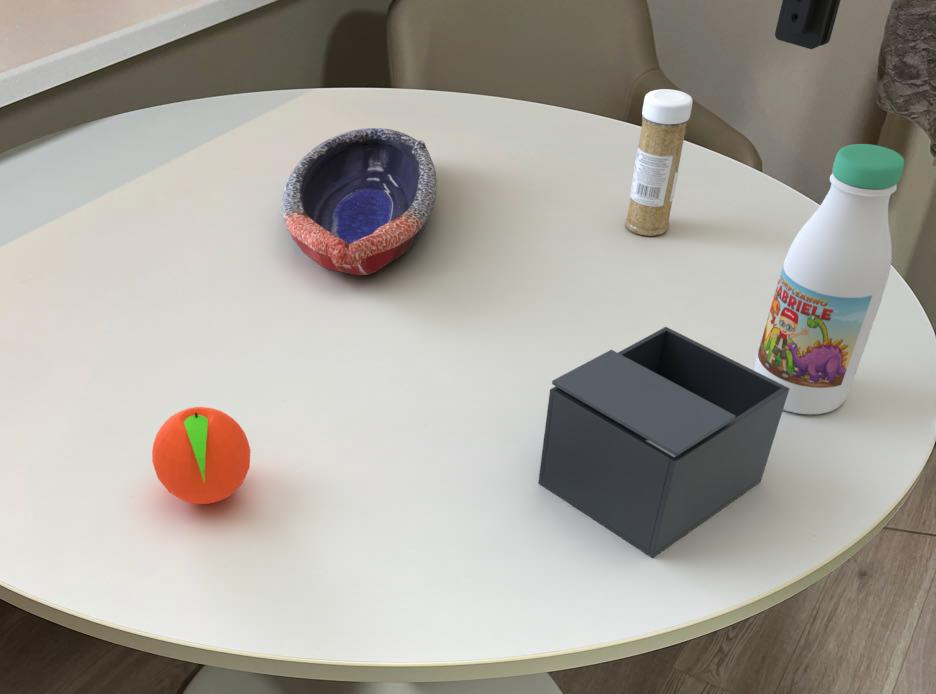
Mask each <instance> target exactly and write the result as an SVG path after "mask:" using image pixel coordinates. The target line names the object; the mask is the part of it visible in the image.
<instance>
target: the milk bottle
mask: <svg viewBox="0 0 936 694" xmlns="http://www.w3.org/2000/svg"><path fill="white" fill-rule="evenodd" d="M904 168H905V159H904V157H903V156H902V155H901V154H900V153H899V152H897V151H895V150H894V149H892V148H891V149H890V148H888V147H885V146H881V145H877V144H871V143H870V144H869V143H857V144H856V143H853V144H847V145H845V146H843V147H841V148H840V149H839V150H838V152H837V153H836V154H835V159H834V160H833V166H832V173H831V174H830V176H829V182H830V183H831V184H830V188H829V190H828V192H827V193H826V195H825V197H824V199H823V201H822V202H821V204H820V205H819V206H818V208H817V209H816V210H815V212H814V213H813V214H812V216H810V218H809V219H808V220H807V222H805V223H804V225H803V226H802V227H801V228H800V230H799V231H798V233H797V234H796V235H795V237H794V238H793V241H792V243H791V245H790V246H789V249H788V251H787V254H786V255H785V258H784V262H783V265H782V268H781V271H780V273H779V278H778V281H777V284H776V287H775V290H774V291H775V292H774V293H773V298H772V301H771V305H770V309H769V312H768V316H767V319H766V323H765V327H764V329H763V333H762V336H761V337H762V338H761V340H760V345H759V348H758V350H757V351H758V352H757V355H756V358H755V363H754V367H753V370H754V371H756V372H758V373H760V374H762V375H764V376H766V377H768V378H770V379H772V380H774V381H776V382H778V383H780V384H782V385H784V386H786V387H788V388H789V392H788V395H787V398H786V402H785V405H784V408H783V411H786V412H790V413H793V414H800V415H821V414H827V413H830V412H833V411H835V410H836V409H838V408H839V407H840V406H841V405H842V404H843V403H845V401H846V399H847V398H848V396H849V393H850V390H851V388H852V384H853V382H854V379H855V376H856V374H857V372H858V368H859V366H860V362H861V360H862V357H863V354H864V352H865V349H866V345H867V343H868V340H869V338H870V335H871V332H872V328H873V325H874V322H875V320H876V316H877V314H878V311H879V308H880V305H881V302H882V298H883V296H884V292H885V290H886V287H887V284H888V279H889V276H890V271H891V267H892V253H893V252H892V250H893V249H892V239H891V234H890V227H889V225H890V224H889V204H890V198H891V195H892V194H893V193H895V192H896V191H897V188H898V186H897V185H898V184H899V182H900V179H901V177H902V174H903V171H904Z"/></svg>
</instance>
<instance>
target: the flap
mask: <svg viewBox="0 0 936 694" xmlns="http://www.w3.org/2000/svg"><path fill="white" fill-rule="evenodd" d="M551 384H552V386H553V387H555V386H556V387H558V388H560V389H561V390H563V391H565V392H567V393H568V394H570V395H572V396H573V397H575V398H577V399H579V400H580V401H582V402H584V403H586V404H587V405H589V406H591V407H592V408H594V409H596V410H598V411H599V412H601V413H603V414H604V415H606V416H608V417H610V418H611V419H613V420H615V421H617V422H618V423H620V424H622V425H623V426H625V427H627V428H629V429H630V430H632V431H634V432H636V433H637V434H639V435H641V436H642V437H644V438H646V439H648V440H649V441H651V442H653V443H655V444H656V445H658V446H660V447H661V448H663V449H665V450H667V451H668V452H670V453H672V454H673V455H675V456H678V455H679V454H681V453H683V452H684V451H686V450H687V449H689V448H690V447H692V446H694V445H695V444H697V443H698V442H700V441H701V440H703V439H705V438H706V437H708V436H709V435H711V434H712V433H714V432H716V431H717V430H719V429H720V428H722V427H723V426H725V425H727V424H728V423H730V422H731V421H733V420H735V417H736V416H735V415H733V414H731V413H729V412H728V411H726V410H724V409H722V408H720V407H718V406H716V405H714V404H713V403H711V402H709V401H707V400H705V399H703V398H701V397H699V396H698V395H696V394H694V393H692V392H690V391H688V390H686V389H684V388H683V387H681V386H679V385H677V384H675V383H673V382H671V381H669V380H668V379H666V378H664V377H662V376H660V375H658V374H656V373H654V372H653V371H651V370H649V369H647V368H645V367H643V366H641V365H639V364H638V363H636V362H634V361H632V360H630V359H628V358H626V357H624V356H623V355H621V354H619V353H618V352H617V351H615V350H613V349H610V350H608V351H606V352H604V353H602V354H600V355H598V356H597V357H595V358H592V359H590V360H589V361H586V362H585V363H583V364H581V365H579V366H577V367H575V368H573V369H572V370H570V371H568V372H566V373H564V374H562V375H560V376H559V377H556V378H555V379H553V380H552V381H551Z"/></svg>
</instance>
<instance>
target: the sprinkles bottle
mask: <svg viewBox="0 0 936 694" xmlns="http://www.w3.org/2000/svg"><path fill="white" fill-rule="evenodd" d="M693 103H694V101H693V98H692V96H691V95H689V94H688V93H686V92H684V91H681V90H678V89H677V90H676V89H667V88H662V89H654V90H651V91H649V92H647V93H645V95H644V100H643V104H642V110H641V114H642V117H641V119H642V122H641V123H642V124H641V129H640V135H639V141H638V145H637V148H636V149H637V150H636V155H635V162H634V168H633V174H632V180H631V186H630V193H629V195H630V196H629V203H628V209H627V215H626V218H625V221H624V225H625V227H626V228H627V230H629V231H630V232H632V233H634V234H636V235H640V236H649V237H654V236H659V235H663V234H664V233H666V232H667V231H668V229H669V227H670V216H671V210H672V205H673V202H674V201H673V200H674V198H675V193H676V188H677V182H678V178H679V177H678V176H679V168H680V167H679V166H680V162H681V157H682V151H683V146H684V141H685V134H686V128H687V125H688V123H689V120H690V118H691V113H692V108H693Z"/></svg>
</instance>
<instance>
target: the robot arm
mask: <svg viewBox="0 0 936 694" xmlns="http://www.w3.org/2000/svg"><path fill="white" fill-rule="evenodd" d="M840 5H841V0H782V1H781V7H780V10H779V14H778V19H777V23H776V27H775V31H774V36H775V39H776V40H778V41H780V42H783V43H784V42H785V43H787V44H790V45H791V44H792V45H794V46H799V47H802V48H804V49H809V50H813V49H816V48H819V47H822V46H824V45H826V44H828V43H830V41H831V37H832V34H833V30H834V27H835V23H836V18H837V15H838V13H839V12H838V11H839V7H840Z"/></svg>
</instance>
